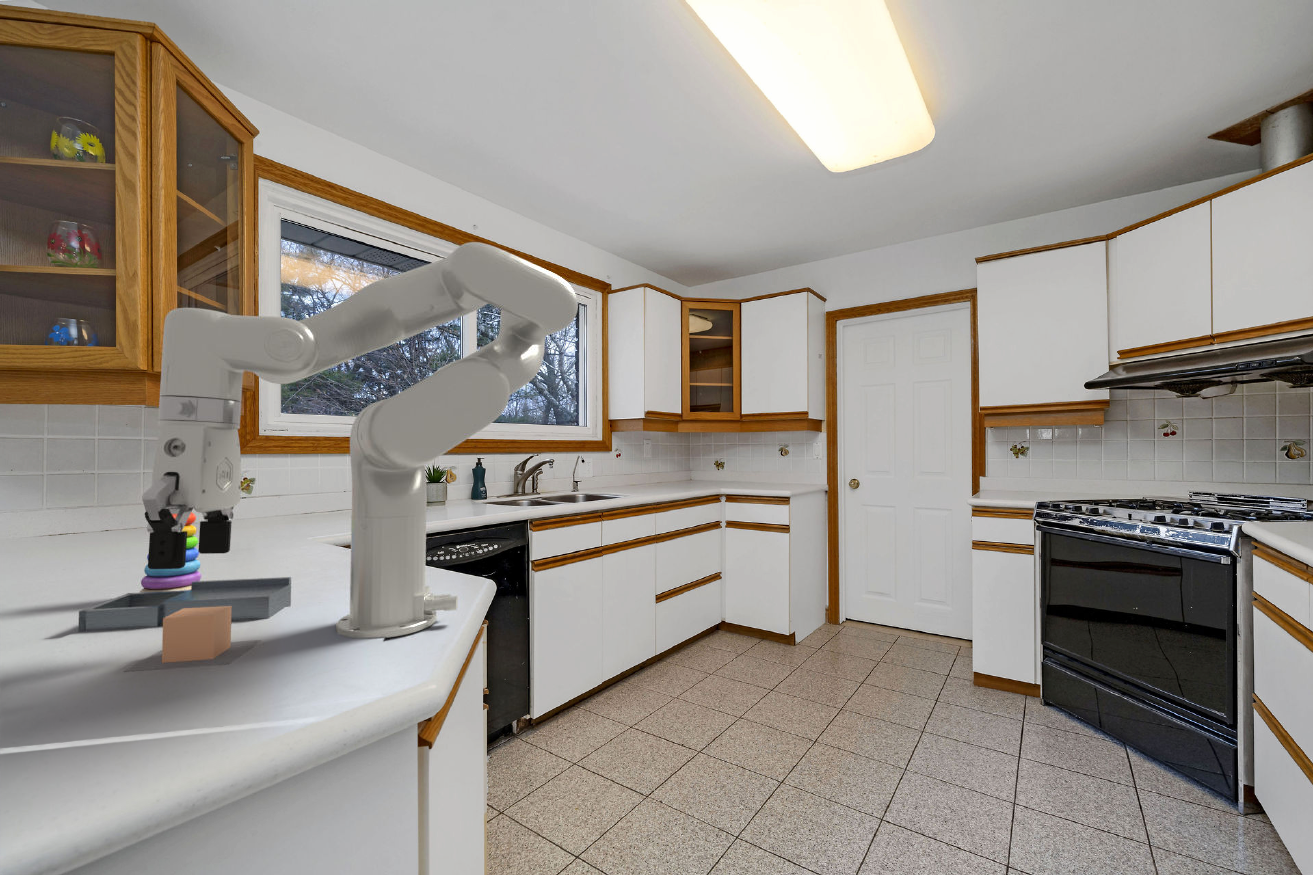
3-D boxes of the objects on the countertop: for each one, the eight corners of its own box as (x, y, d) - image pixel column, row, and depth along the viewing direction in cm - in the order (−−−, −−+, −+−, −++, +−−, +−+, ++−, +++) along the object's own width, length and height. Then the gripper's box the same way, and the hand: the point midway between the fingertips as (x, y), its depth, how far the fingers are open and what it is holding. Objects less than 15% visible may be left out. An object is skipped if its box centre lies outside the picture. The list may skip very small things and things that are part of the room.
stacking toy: (165, 605, 87) (168, 485, 88) (125, 602, 89) (128, 484, 89) (214, 592, 95) (217, 482, 95) (176, 589, 97) (179, 482, 97)
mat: (261, 642, 71) (261, 639, 71) (229, 666, 63) (229, 663, 63) (168, 649, 68) (168, 646, 68) (123, 675, 60) (123, 671, 60)
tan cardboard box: (230, 646, 68) (231, 605, 68) (213, 658, 64) (214, 615, 64) (182, 650, 67) (183, 608, 67) (161, 662, 63) (163, 618, 63)
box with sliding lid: (292, 604, 88) (293, 575, 88) (266, 622, 79) (266, 590, 79) (127, 613, 83) (128, 583, 83) (78, 634, 73) (79, 600, 74)
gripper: (197, 411, 58) (187, 574, 58) (268, 421, 75) (261, 548, 75) (111, 407, 57) (99, 576, 56) (203, 418, 73) (196, 548, 73)
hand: (192, 560), depth 65 cm, fingers open, 9 cm apart
